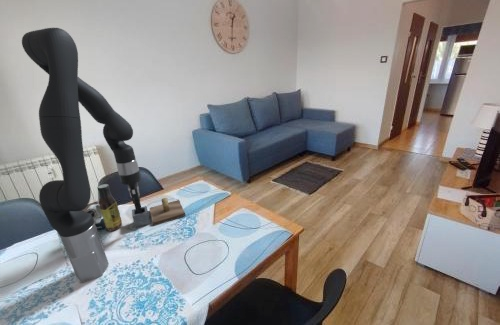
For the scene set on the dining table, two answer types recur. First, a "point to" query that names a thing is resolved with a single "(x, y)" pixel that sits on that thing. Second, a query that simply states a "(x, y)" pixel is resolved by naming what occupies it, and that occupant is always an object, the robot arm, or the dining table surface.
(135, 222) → the grey hollow cube
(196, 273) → the dining table surface
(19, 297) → the dining table surface
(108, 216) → the sauce bottle
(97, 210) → the watch
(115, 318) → the dining table surface
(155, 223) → the post board
